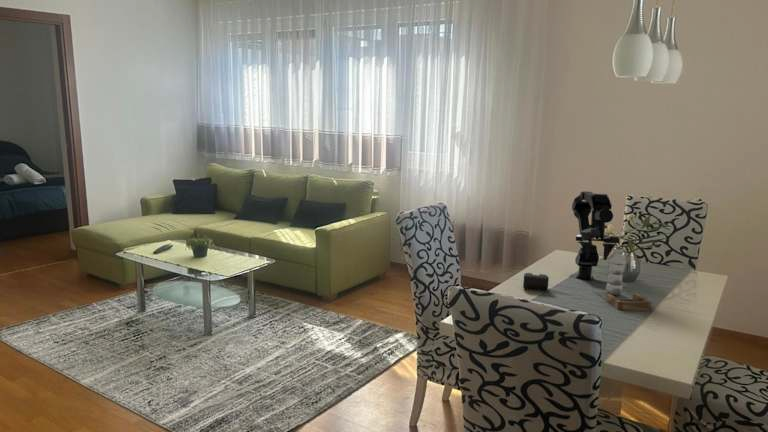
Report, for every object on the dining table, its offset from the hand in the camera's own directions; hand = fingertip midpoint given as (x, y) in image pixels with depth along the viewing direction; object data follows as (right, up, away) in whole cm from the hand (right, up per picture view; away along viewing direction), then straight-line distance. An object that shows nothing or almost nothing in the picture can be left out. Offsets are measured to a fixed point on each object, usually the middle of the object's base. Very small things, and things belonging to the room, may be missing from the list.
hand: (596, 259), depth 249 cm
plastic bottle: (+5, -15, -7) cm, 17 cm away
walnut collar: (+6, -17, -18) cm, 26 cm away
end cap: (-27, -13, -3) cm, 30 cm away
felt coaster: (+5, -15, -7) cm, 17 cm away
